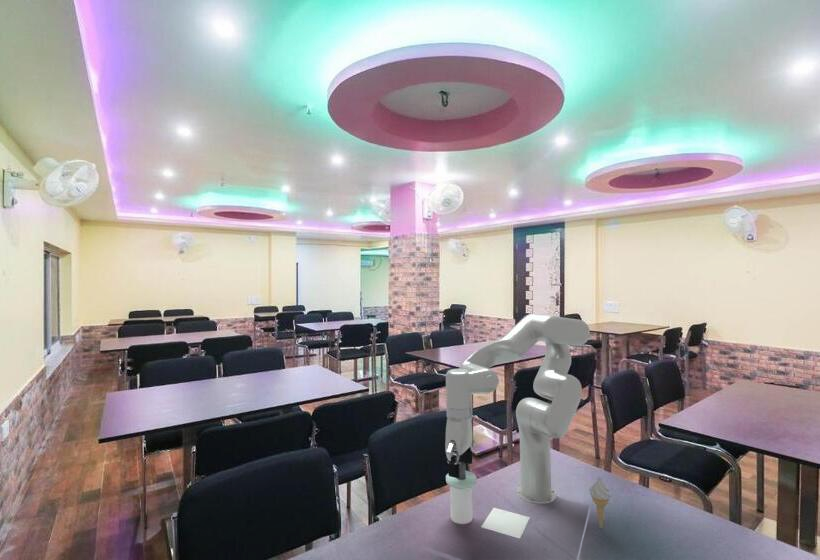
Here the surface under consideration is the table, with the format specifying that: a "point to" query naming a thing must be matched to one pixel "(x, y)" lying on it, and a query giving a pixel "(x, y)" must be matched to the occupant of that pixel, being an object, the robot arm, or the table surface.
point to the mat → (506, 522)
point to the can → (461, 505)
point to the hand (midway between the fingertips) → (460, 469)
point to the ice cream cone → (600, 498)
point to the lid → (462, 478)
